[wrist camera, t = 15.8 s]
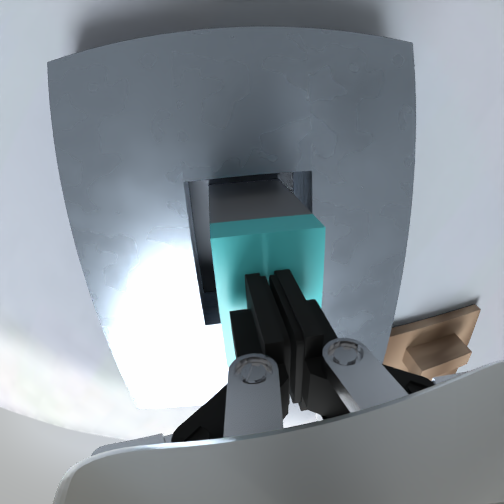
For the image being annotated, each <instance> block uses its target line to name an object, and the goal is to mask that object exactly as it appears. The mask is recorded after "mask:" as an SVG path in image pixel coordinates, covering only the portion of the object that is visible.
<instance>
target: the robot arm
mask: <svg viewBox="0 0 504 504" xmlns="http://www.w3.org/2000/svg"><path fill="white" fill-rule="evenodd" d="M245 288H246V300H247V309H241V310H234V311H229V313H230V321H231V329H232V337H233V343H234V350H235V356H236V359H235V360H234V361H233V362H232V363H231V365H230V366H229V370H228V380H227V384H226V385H225V386H224V387H223V388H222V389H220V390H219V391H218V392H217V393H216V394H215V395H214V396H213V397H212V398H211V399H210V400H208V401H207V402H206V403H205V404H204V405H203V406H202V407H201V408H199V409H198V410H197V411H196V412H195V413H194V414H193V415H192V416H190V417H189V418H188V419H187V420H186V421H185V422H184V423H182V424H181V425H180V426H179V427H178V428H177V429H176V430H175V431H174V433H173V434H171V435H167V436H163V434H162V433H161V434H157V435H153V436H149V437H144V438H139V439H135V440H130V441H125V442H120V443H114V444H109V445H104V446H102V447H99V448H98V449H96V450H95V451H94V452H93V453H92V455H91V456H90V457H88V458H86V459H83V460H81V461H80V462H78V463H76V464H74V465H73V466H72V467H70V468H69V469H68V471H67V472H66V473H65V474H64V476H63V477H62V480H61V481H60V483H59V486H58V489H57V491H56V495H55V498H54V501H53V504H504V360H502V361H497V362H493V363H490V364H487V365H484V366H481V367H479V368H476V369H473V370H471V371H467V372H462V373H456V374H451V375H445V376H438V377H433V379H432V381H430V380H429V379H428V378H425V377H423V376H420V375H416V374H413V373H410V372H406V371H403V370H400V369H397V368H393V367H390V366H387V365H384V364H381V363H380V362H379V361H378V359H377V358H376V357H375V356H374V355H373V354H372V353H371V352H370V351H369V349H368V348H367V347H366V346H365V345H364V344H362V343H361V342H360V341H357V340H355V339H351V338H338V337H337V335H336V333H335V332H334V330H333V328H332V326H331V325H330V323H329V321H328V319H327V318H326V316H325V314H324V312H323V311H322V309H321V307H320V306H319V304H318V302H317V301H316V299H310V300H306V299H305V297H304V295H303V293H302V291H301V290H300V288H299V286H298V284H297V282H296V280H295V278H294V277H293V275H292V273H291V271H290V270H289V269H284V270H276V271H274V275H269V283H268V281H267V278H266V276H260V273H253V274H245ZM290 396H291V399H292V402H293V403H298V404H299V406H300V409H301V411H304V410H310V411H312V412H314V413H315V417H316V420H317V421H316V422H312V423H307V424H303V425H298V426H293V427H288V428H283V419H284V418H285V416H286V415H287V414H288V405H289V398H290Z"/></svg>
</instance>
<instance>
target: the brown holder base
mask: <svg viewBox="0 0 504 504" xmlns="http://www.w3.org/2000/svg"><path fill="white" fill-rule="evenodd" d="M480 310H481V309H480V308H479V307H478V306H476V305H475V304H474V305H471V306H468V307H464V308H461V309H458V310H455V311H452V312H448V313H445V314H441V315H438V316H435V317H431V318H427V319H424V320H420V321H417V322H413V323H409V324H405V325H401V326H397V327H393V328H392V329H391V333H390V337H389V341H388V345H387V349H386V353H385V357H384V361H383V364H384V365H387V366H390V367H393V368H397V369H400V370H403V371H406V372H410V373H413V374H416V375H420V376H423V377H425V378H428V379H429V380H430V381H432V379H433V377H438V376H445V375H451V374H455V373H456V371H457V369H458V367H461V366H463V365H465V364H467V362H468V360H469V358H470V356H471V353H472V351H471V350H470V349H469V348H468V347H467V345H468V343H469V340H470V338H471V335H472V333H473V330H474V327H475V324H476V322H477V319H478V316H479V313H480Z"/></svg>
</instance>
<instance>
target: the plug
mask: <svg viewBox="0 0 504 504" xmlns="http://www.w3.org/2000/svg"><path fill="white" fill-rule="evenodd" d="M209 216H210V240H211V249H212V257H213V266H214V274H215V282H216V290H217V298H218V305H219V313H220V320H221V328H222V335H223V342H224V349H225V356H226V362H227V368H229V366H230V365H231V363H232V362H233V361H234V360H235V359H236V356H235V350H234V343H233V337H232V329H231V321H230V313H229V311H234V310H241V309H247V300H246V288H245V274H253V273H260V276H266V278H267V281H268V283H269V275H274V271H276V270H284V269H289V270H290V271H291V273H292V275H293V277H294V278H295V280H296V282H297V284H298V286H299V288H300V290H301V291H302V293H303V295H304V297H305V299H306V300H310V299H316V301H317V302H318V304H319V306H320V307H321V305H322V291H323V274H324V255H325V229H326V227H325V226H324V225H323V224H322V223H321V222H320V221H319V220H318V219H317V218H316V217H315V216H314V215H313V214H312V213H311V212H310V211H309V209H308V208H307V207H306V206H305V205H304V204H303V203H302V202H301V201H300V200H299V199H298V198H297V197H296V196H295V195H294V194H293V193H292V192H291V191H290V190H289V189H288V188H287V187H286V186H285V185H284V184H283V183H282V182H281V181H280V180H279V179H273V180H260V181H247V182H236V183H225V184H215V185H209Z"/></svg>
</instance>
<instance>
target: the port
mask: <svg viewBox="0 0 504 504" xmlns="http://www.w3.org/2000/svg"><path fill="white" fill-rule="evenodd" d="M47 67H48V87H49V100H50V111H51V120H52V129H53V137H54V144H55V151H56V157H57V163H58V169H59V175H60V180H61V185H62V190H63V195H64V200H65V205H66V209H67V214H68V218H69V222H70V226H71V230H72V234H73V238H74V242H75V245H76V249H77V253H78V256H79V260H80V263H81V267H82V270H83V273H84V276H85V280H86V283H87V286H88V289H89V292H90V295H91V298H92V301H93V304H94V307H95V310H96V312H97V315H98V318H99V321H100V323H101V326H102V329H103V331H104V334H105V337H106V339H107V342H108V344H109V347H110V349H111V352H112V354H113V356H114V359H115V361H116V363H117V366H118V368H119V370H120V373H121V375H122V377H123V379H124V382H125V384H126V386H127V388H128V390H129V392H130V394H131V397H132V399H133V401H134V403H135V405H136V407H137V409H150V408H170V407H184V406H196V405H204V404H205V403H206V402H207V401H208V400H210V399H211V398H212V397H213V396H214V395H215V394H216V393H217V392H218V391H219V390H220V389H222V388H223V387H224V386H225V385H226V384H227V380H228V370H229V368H227V362H226V356H225V349H224V342H223V335H222V328H221V320H220V313H219V305H218V298H217V291H216V292H208V293H204V292H203V285H202V279H201V272H200V266H199V259H198V252H197V245H196V238H195V231H194V223H193V216H192V208H191V200H190V192H189V183H188V182H190V181H199V180H207V179H216V178H226V177H236V176H246V175H258V174H270V173H283V172H293V187H294V195H295V196H296V197H297V198H298V199H299V200H300V201H301V202H302V203H303V204H304V205H305V206H306V207H307V208H308V209H309V211H310V212H311V213H312V214H313V215H314V216H315V217H316V218H317V219H318V220H319V221H320V222H321V223H322V224H323V225H324V226H325V227H326V229H325V255H324V274H323V291H322V305H321V309H322V311H323V312H324V314H325V316H326V318H327V319H328V321H329V323H330V325H331V326H332V328H333V330H334V332H335V333H336V335H337V337H338V338H351V339H355V340H357V341H360V342H361V343H362V344H364V345H365V346H366V347H367V348H368V349H369V351H370V352H371V353H372V354H373V355H374V356H375V357H376V358H377V359H378V361H379V362H380V363H381V364H383V361H384V357H385V353H386V349H387V345H388V341H389V337H390V333H391V329H392V324H393V320H394V315H395V310H396V305H397V300H398V295H399V290H400V285H401V279H402V273H403V267H404V261H405V254H406V247H407V240H408V232H409V224H410V215H411V206H412V195H413V182H414V166H415V142H416V93H415V69H414V54H413V43H411V42H407V41H402V40H397V39H392V38H387V37H382V36H376V35H370V34H363V33H356V32H348V31H340V30H330V29H318V28H304V27H277V26H252V27H226V28H211V29H199V30H190V31H181V32H173V33H166V34H159V35H153V36H147V37H142V38H136V39H131V40H126V41H122V42H117V43H113V44H108V45H104V46H100V47H96V48H92V49H89V50H85V51H82V52H78V53H75V54H71V55H68V56H65V57H62V58H59V59H55V60H52V61H50V62H47Z"/></svg>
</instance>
